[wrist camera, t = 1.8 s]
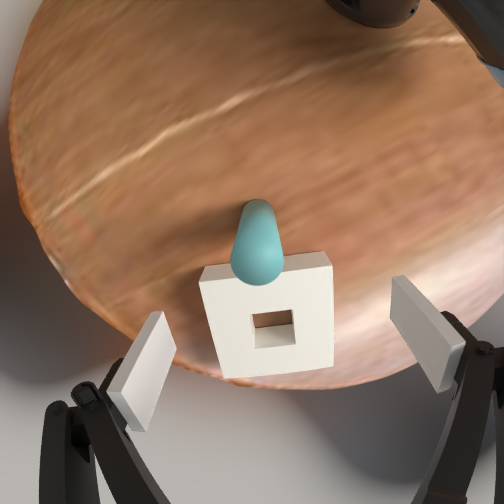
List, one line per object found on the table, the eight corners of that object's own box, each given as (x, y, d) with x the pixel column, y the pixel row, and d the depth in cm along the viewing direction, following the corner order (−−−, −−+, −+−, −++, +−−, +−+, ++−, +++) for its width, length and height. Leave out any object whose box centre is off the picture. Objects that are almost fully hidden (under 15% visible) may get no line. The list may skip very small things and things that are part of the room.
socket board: (205, 266, 40) (198, 282, 35) (323, 250, 39) (332, 265, 34) (227, 357, 45) (224, 378, 40) (327, 345, 44) (333, 366, 39)
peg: (239, 201, 37) (226, 239, 22) (271, 197, 36) (280, 232, 21) (244, 231, 38) (235, 288, 23) (275, 227, 38) (286, 282, 23)
